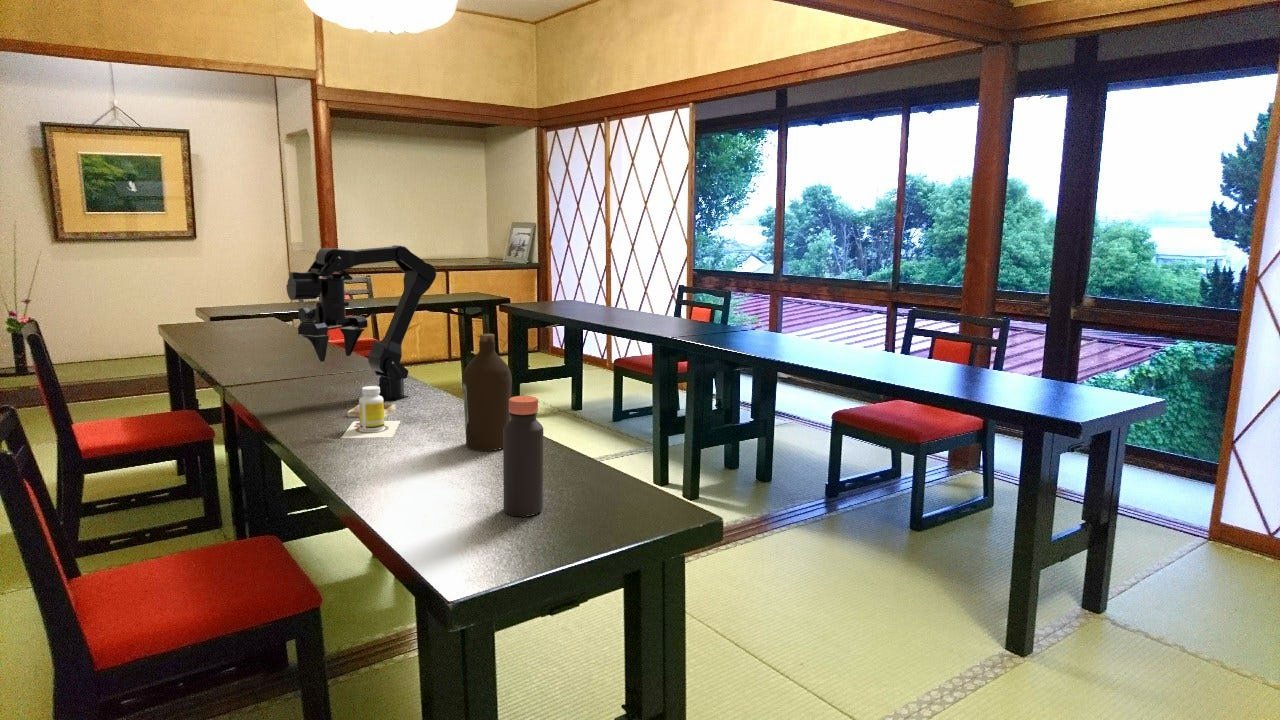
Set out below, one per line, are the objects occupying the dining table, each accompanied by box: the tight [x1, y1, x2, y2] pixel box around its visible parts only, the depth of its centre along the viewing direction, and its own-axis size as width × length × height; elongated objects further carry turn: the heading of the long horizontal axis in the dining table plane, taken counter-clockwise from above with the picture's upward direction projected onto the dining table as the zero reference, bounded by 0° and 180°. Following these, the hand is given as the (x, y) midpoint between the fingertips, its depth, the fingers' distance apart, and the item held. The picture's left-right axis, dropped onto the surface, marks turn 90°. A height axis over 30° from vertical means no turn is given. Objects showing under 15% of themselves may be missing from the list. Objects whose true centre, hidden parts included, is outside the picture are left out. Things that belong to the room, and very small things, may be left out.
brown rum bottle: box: [461, 333, 513, 452], centre depth 165 cm, size 11×11×25 cm
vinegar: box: [502, 395, 544, 517], centre depth 129 cm, size 7×7×20 cm
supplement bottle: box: [358, 385, 385, 431], centre depth 175 cm, size 5×5×10 cm
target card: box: [340, 420, 401, 439], centre depth 176 cm, size 14×11×1 cm
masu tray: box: [347, 403, 397, 418], centre depth 190 cm, size 9×9×2 cm
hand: (335, 358), depth 193 cm, fingers open, 9 cm apart
